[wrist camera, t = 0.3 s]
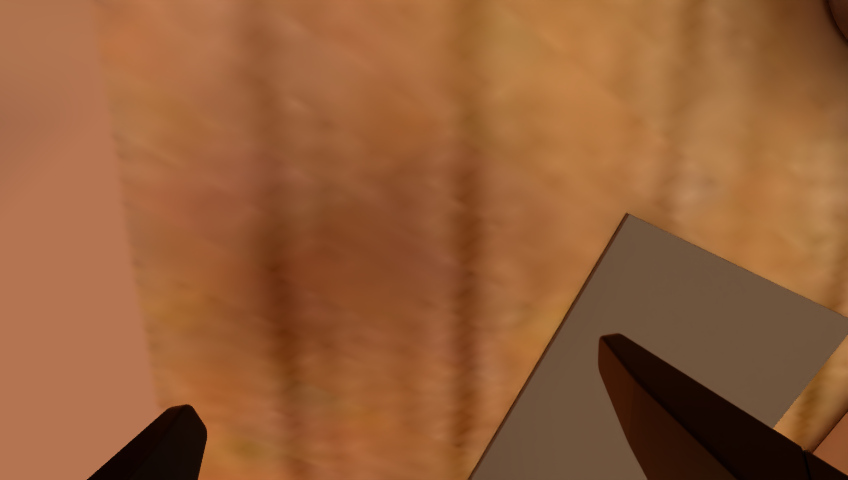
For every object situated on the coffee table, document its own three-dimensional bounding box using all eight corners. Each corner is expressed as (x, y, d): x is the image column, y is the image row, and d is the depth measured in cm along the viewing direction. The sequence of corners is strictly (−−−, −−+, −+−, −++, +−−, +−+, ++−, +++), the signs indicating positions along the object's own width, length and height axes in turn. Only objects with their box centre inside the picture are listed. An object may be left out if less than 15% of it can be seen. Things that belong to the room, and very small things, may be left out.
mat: (654, 569, 31) (656, 573, 30) (458, 496, 29) (458, 500, 29) (852, 320, 25) (857, 322, 25) (626, 213, 24) (629, 214, 23)
